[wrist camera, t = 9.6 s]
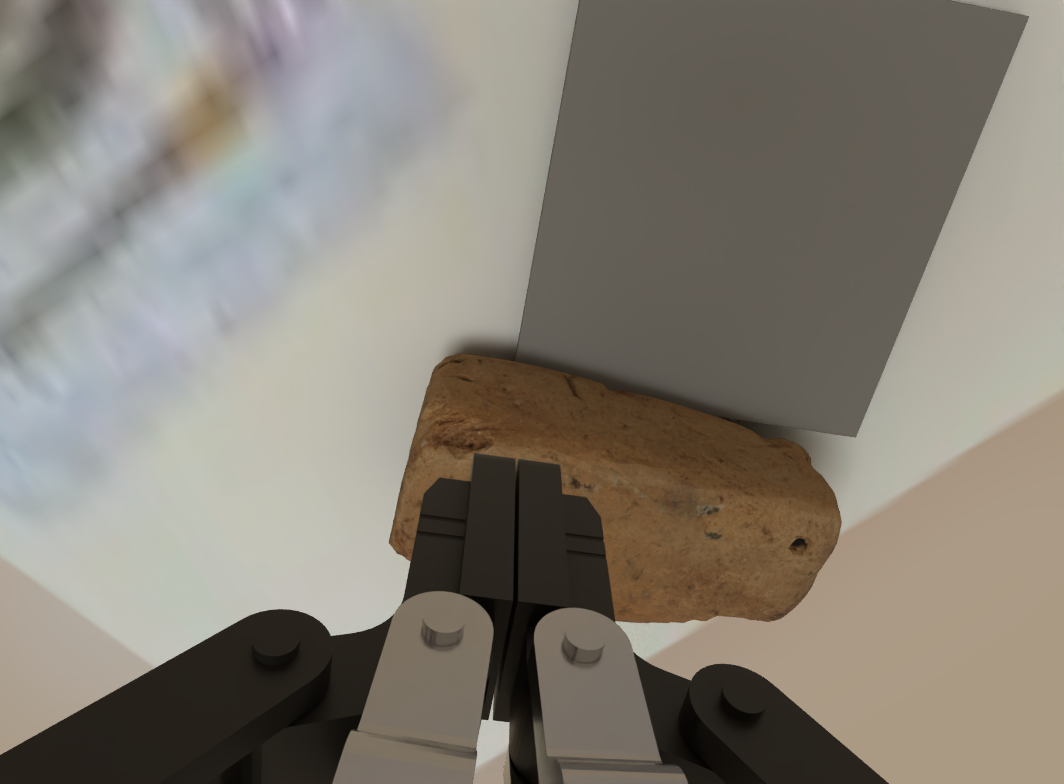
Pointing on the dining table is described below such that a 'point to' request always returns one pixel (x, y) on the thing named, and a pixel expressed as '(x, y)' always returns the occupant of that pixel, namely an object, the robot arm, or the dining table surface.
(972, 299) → the dining table surface
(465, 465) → the block
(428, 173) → the dining table surface
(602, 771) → the robot arm
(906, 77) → the flat gray panel
